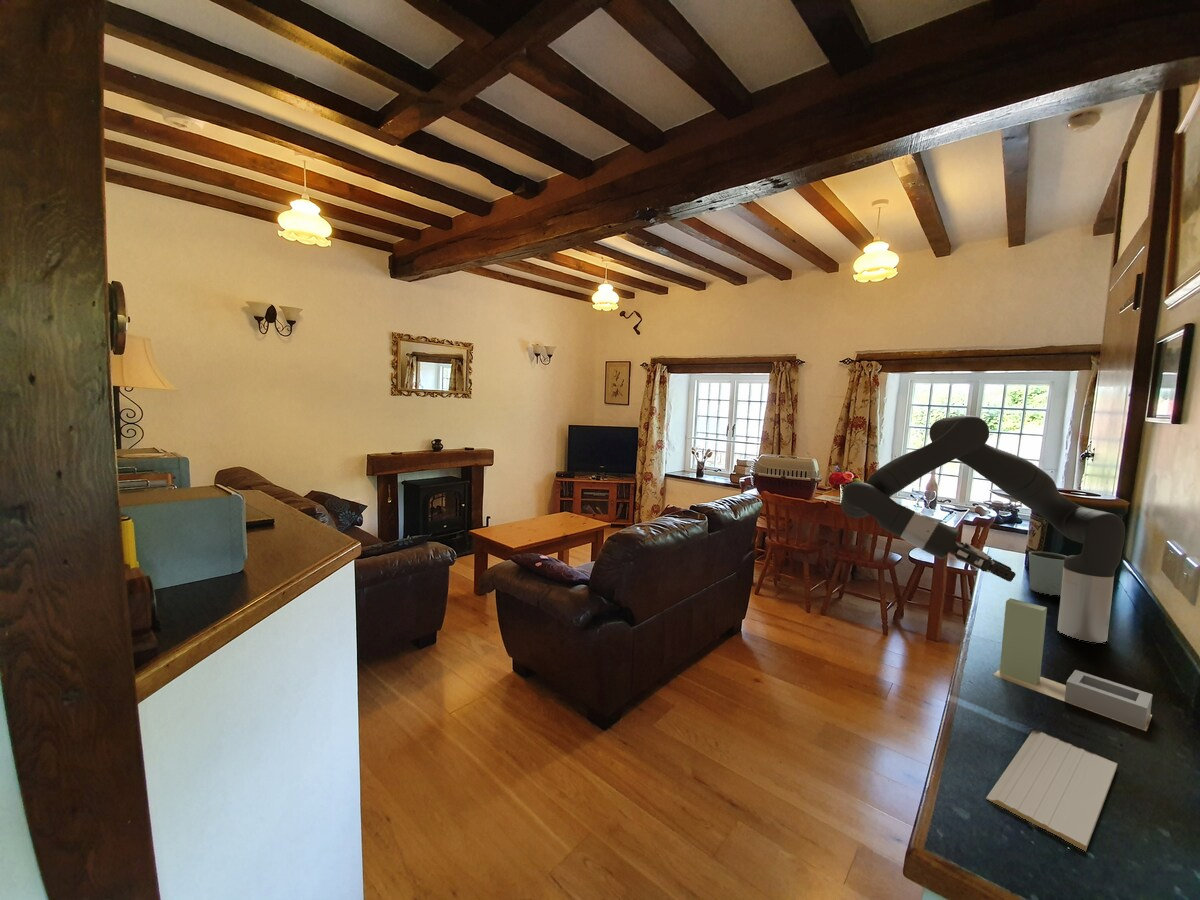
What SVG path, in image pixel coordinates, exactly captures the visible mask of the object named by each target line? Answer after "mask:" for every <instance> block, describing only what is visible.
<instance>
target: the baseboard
mask: <svg viewBox="0 0 1200 900" xmlns="http://www.w3.org/2000/svg"><path fill="white" fill-rule="evenodd" d="M1040 715H1041V716H1045V717H1046V718H1049V719H1053V720H1055V721H1058V722H1061V723H1063V724H1066V725H1069V726H1071V727H1073V728H1076V729H1078V730H1081V731H1084V732H1086V733H1089V734H1092V735H1094V736H1097V737H1099V738H1101V739H1104V740H1107V741H1109V742H1112V743H1115V744H1117V745H1119V746H1120V747H1124V745H1123V743H1117V742H1115V741H1113V740H1110V739H1107V738H1105V737H1102V736H1099V735H1097V734H1095V733H1092V732H1089V731H1087V727H1084V726H1082V725H1080V724H1079V725H1078V724H1075V723H1073V722H1071V721H1070V722H1069V723H1066V722H1063V721H1060V720H1058V719H1056V718H1053V717H1050V716H1048V715H1045V714H1043V712H1042V713H1041V712H1040ZM1035 716H1036V717H1039V715H1037V714H1035ZM1118 766H1119V763H1118V762H1116V761H1113V760H1111V759H1109V758H1106V757H1104V756H1102V755H1099V754H1097V753H1094V752H1092V751H1090V750H1087V749H1085V748H1082V747H1080V746H1078V745H1075V744H1072V743H1071V742H1067V741H1065V740H1063V739H1061V738H1058V737H1055V736H1053V735H1051V734H1048V733H1046V732H1044V731H1040V730H1038V729H1036V728H1033V730H1032V731H1031V733H1030V734H1029V735H1028V737H1027V738H1026V740H1025V741H1024V743H1023V744H1022V745H1021V747H1020V748H1019V750H1018V751H1017V752H1016V754H1015V756H1014V757H1013V759H1012V760H1011V761H1010V763H1009V764H1008V765H1007V767H1006V769H1005V770H1004V771H1003V773H1002V774H1001V776H1000V777H999V779H997V781H996V783H995V785H994V786H993V788H992V789H991V790H990V792H989V793H988V794H987V796H986V797H985V800H986V799H987V800H989V801H991V802H993V803H995V804H997V805H999V806H1001V807H1003V808H1006V809H1007V810H1009V811H1010V812H1012V813H1014V814H1016V815H1018V816H1020V817H1021V818H1023V819H1026V820H1027V821H1029V822H1032V823H1033V824H1035V825H1037V826H1039V827H1041V828H1043V829H1046V830H1047V831H1049V832H1051V833H1053V834H1055V835H1057V836H1059V837H1061V838H1062V839H1064V840H1065V841H1067V842H1069V843H1071V844H1073V845H1074V846H1076V847H1078V848H1080V849H1082V850H1084V851H1085V853H1086V852H1087V849H1088V846H1089V843H1090V841H1091V838H1092V835H1093V833H1094V831H1095V828H1096V825H1097V822H1098V819H1099V817H1100V814H1101V811H1102V810H1103V806H1104V803H1105V802H1106V801H1105V800H1106V798H1107V796H1108V793H1109V790H1110V787H1111V785H1112V782H1113V780H1114V777H1115V773H1116V772H1117V768H1118ZM987 800H986V801H987ZM989 801H988V802H989ZM991 802H990V803H991ZM993 803H992V804H993ZM995 804H994V805H995ZM997 805H996V806H997ZM999 806H998V807H999ZM1001 807H1000V808H1001ZM1003 808H1002V809H1003ZM1010 812H1009V813H1010ZM1012 813H1011V814H1012ZM1014 814H1013V815H1014ZM1016 815H1015V816H1016ZM1018 816H1017V817H1018ZM1020 817H1019V818H1020ZM1021 818H1020V819H1021ZM1023 819H1022V820H1023ZM1027 821H1026V822H1027ZM1029 822H1028V823H1029ZM1033 824H1032V825H1033ZM1035 825H1034V826H1035ZM1037 826H1036V827H1037ZM1065 841H1064V842H1065ZM1067 842H1066V843H1067ZM1069 843H1068V844H1069ZM1071 844H1070V845H1071ZM1074 846H1073V847H1074ZM1076 847H1075V848H1076ZM1078 848H1077V849H1078ZM1080 849H1079V850H1080ZM1082 850H1081V851H1082ZM1084 851H1083V852H1084Z"/></svg>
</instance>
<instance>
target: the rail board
mask: <svg viewBox="0 0 1200 900" xmlns="http://www.w3.org/2000/svg"><path fill="white" fill-rule="evenodd" d="M992 676H994V677H996V678H999V679H1002V680H1005V681H1007V682H1011V683H1013V684H1016V685H1018V686H1021V687H1024V688H1027V689H1029V690H1032V691H1034V692H1038V693H1040V694H1043V695H1046V696H1049V697H1051V698H1054V699H1056V700H1059V701H1063V702H1065V703H1067V704H1070V705H1073V706H1076V707H1079V708H1081V709H1085V710H1087V711H1090V712H1092V713H1095V714H1098V715H1101V716H1103V717H1106V718H1109V719H1112V720H1113V721H1117V722H1120V723H1123V724H1125V725H1128V726H1131V727H1134V728H1136V729H1139V730H1142V731H1145V732H1147V731H1148V728H1149V725H1150V722H1151V719H1152V717H1153V714H1151V713H1150V717H1149V719H1148V722H1147V724H1146V727H1145V730H1144V729H1141V728H1138V727H1136V726H1133V725H1130V724H1127V723H1125V722H1122V721H1119V720H1116V719H1114V718H1111V717H1108V716H1105V715H1103V714H1100V713H1097V712H1094V711H1092V710H1089V709H1086V708H1083V707H1081V706H1078V705H1075V704H1072V703H1070V702H1067V701H1065V692H1066V684H1063V683H1060V682H1058V681H1055V680H1053V679H1048V678H1045V677H1043V676H1040V681H1039V683H1038V684H1037V685H1036V686H1035V685H1033V684H1030V683H1027V682H1024V681H1021V680H1019V679H1016V678H1013V677H1010V676H1007V675H1005V674H1002V673H1000V668H999V669H998V670H997V671H996V672H994V673H993V675H992Z"/></svg>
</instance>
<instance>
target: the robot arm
mask: <svg viewBox="0 0 1200 900" xmlns="http://www.w3.org/2000/svg"><path fill="white" fill-rule="evenodd" d="M989 428H990V427H989V425H988V424H987V422H986V421H985V420H983V418H981V417H979V416H976V415H969V414H968V415H958V416H957V415H955V416H949V417H948V416H947V417H944V418H941V419H937V420H936V421H935V422H933V424H931V426H930V427H929V431H928V433H929V439H930V441H931V442H930V443H928V444H927V445H924V446H921V447H920V448H917V449H914V450H913V451H910V452H907V453H905V454H903V455H901V456H897V458H893V460H890V461H889V462H888V463H886V464H884V465H882V466H881V467H879V468H878V469H877V470H875V471H874V472H873V473H872V474H871V475H870V476H869V477H868V480H867V481H866V482H863V481H853V482H849V483H848V484H847V485H846V486H845V487H844V489H843V492H842V496H841V501H840V508H841V510H842V512H843V513H844V514H845V515H846V516H847V517H850V518H851V519H861V518H866V517H867V516H869V515H870V516H872V517H873V518H875V519H876V521H877V524H878V525H879V527H880V528H882V529H883V530H885V531H887V532H889V533H891V534H893V535H894V536H897V537H899V538H901V539H903V540H904V541H906V542H907V543H908V544H910V545H912V546H914V547H916V548H918V549H920V550H922V551H924V552H926V553H928V554H930V555H932V556H934V557H935V558H937V559H940V560H943V559H945V558H946V556H947V555H948V554H949V553H952V554H954V555H953V556H954V557H955V558H956V559H957V560H958V561H960V562H962V563H966V564H967V565H969V566H971V567H972V568H975V569H979V570H981V571H982V572H986V573H991V574H992V575H994V576H996V577H998V578H1000V579H1002V580H1005V581H1006V582H1009V583H1010V582H1012V581H1013V580H1014V578H1015V577H1016V572H1015V571H1013V570H1012V568H1011V567H1010V566H1008V565H1006V564H1004V563H1003V562H1000V561H998V560H996V559H994V558H992V556H991V555H988V554H987V553H985V552H984V551H982V550H980V549H979V548H976V547H975V546H973V545H972V544H970V543H967V542H965V543H964V542H961V541H957V539H958V537H959V536H960V531H959V530H958V529H956V528H954V527H951V526H949V525H947V524H945V523H943V522H941V521H939V520H937V519H935V518H933V517H931V516H928V515H925V514H922V513H920V512H917V511H915V510H913V509H910V508H908V507H906V506H904V505H902V504H899V503H898V502H896V501H895V500H893V499H892V498H891V497H892V496H894V495H896V494H897V493H899V492H900V491H901V490H904V489H905V488H906V487H908V486H910V485H911V484H912V483H914V482H916V481H918V480H919V479H920V478H922V477H924V476H926V475H928V474H929V473H931V472H932V471H934V470H936V469H938V468H940V467H942V466H944V465H946V464H948V463H950V462H953V461H954V460H958V461H959V462H961V463H962V464H964V465H967V466H968V467H970V469H972V470H974V471H975V472H976V473H978V474H979V475H980V476H981V477H982V478H984V479H986V480H988V482H991V484H994V485H995V486H996V487H998V489H1000V490H1002V491H1003V492H1004V493H1006V494H1007V495H1009V496H1010V497H1011V498H1013V499H1015V500H1016V501H1018V502H1019V503H1020V504H1022V505H1024V506H1025V507H1026V508H1028V509H1030V510H1032V511H1033V512H1035V513H1036V514H1037V515H1040V516H1041V518H1044V519H1045V520H1046V521H1047V523H1050V525H1052V527H1053V528H1055V530H1057V531H1058V532H1059V533H1061V535H1063V536H1064V537H1065V538H1067V539H1069V540H1071V541H1074V542H1077V543H1079V544H1082V549H1081V553H1080V554H1076V555H1074V554H1071V555H1068V556H1067V555H1066V556H1067V557H1066V558H1065V559H1064V567H1063V577H1062V588H1061V596H1060V600H1059V609H1058V619H1057V632H1058V631H1059V632H1058V633H1059V634H1061V633H1063V634H1065V635H1067V636H1066V637H1068V636H1070V637H1072V638H1071V639H1073V638H1076V639H1079V640H1078V641H1080V640H1084V641H1089V642H1096V643H1103V642H1106V641H1107V642H1108V634H1109V627H1110V621H1111V620H1110V618H1111V610H1112V609H1111V607H1112V601H1113V600H1112V599H1113V590H1114V579H1115V572H1116V570H1117V568H1118V567H1119V565H1120V563H1121V560H1122V555H1123V548H1124V544H1125V538H1126V526H1125V522H1124V521H1123V519H1122V518H1121V517H1120V516H1118V515H1117V514H1115V513H1111V512H1107V511H1104V510H1098V509H1093V508H1088V507H1086V506H1083V505H1080V504H1077V503H1076V502H1074V501H1072V500H1071V499H1069V498H1067V497H1066V496H1064V495H1063V494H1062V493H1060V492H1059V490H1058V487H1057V485H1056V483H1055V481H1054V480H1053V478H1052V477H1051V475H1049V474H1048V473H1047V472H1045V470H1043V469H1041V468H1040V467H1039V466H1037V465H1036V464H1034V463H1033V462H1031V461H1030V460H1027V459H1025V458H1024V457H1021V456H1018V455H1016V454H1013V453H1011V452H1008V451H1005V450H1002V449H1000V448H997V447H993V446H991V445H989V444H987V442H988V439H989V437H990V429H989ZM1063 634H1062V635H1063ZM1065 635H1064V636H1065ZM1070 637H1069V638H1070ZM1076 639H1075V640H1076ZM1084 641H1083V642H1084ZM1089 642H1088V643H1089ZM1096 643H1095V644H1096ZM1103 644H1104V643H1103Z"/></svg>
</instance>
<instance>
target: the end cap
mask: <svg viewBox="0 0 1200 900" xmlns="http://www.w3.org/2000/svg"><path fill="white" fill-rule="evenodd" d="M1065 685H1066V692H1065V701H1067V702H1070V703H1072V704H1071V705H1073V704H1075V705H1074V706H1076V705H1078V706H1081V707H1083V708H1082V709H1084V708H1086V709H1085V710H1087V709H1089V710H1092V711H1094V712H1093V713H1095V712H1097V713H1096V714H1098V713H1100V714H1103V715H1105V716H1104V717H1106V716H1108V717H1107V718H1109V717H1111V718H1114V719H1116V720H1115V721H1117V720H1119V721H1118V722H1120V721H1122V722H1125V723H1127V724H1126V725H1128V724H1130V725H1129V726H1131V725H1133V726H1136V727H1138V728H1137V729H1139V728H1141V729H1140V730H1142V729H1144V730H1145V727H1146V724H1147V722H1148V719H1149V717H1150V714H1151V710H1152V703H1153V696H1154V695H1153V694H1152V693H1149V692H1146V691H1142V690H1140V689H1136V688H1133V687H1131V686H1128V685H1124V684H1121V683H1118V682H1115V681H1112V680H1109V679H1105V678H1102V677H1099V676H1097V675H1093V674H1090V673H1087V672H1084V671H1080V670H1078V669H1075V670H1074V671H1073V672H1072V674H1070V676H1069V677H1068V679H1067V680H1066V684H1065ZM1065 701H1064V702H1065ZM1067 702H1066V703H1067ZM1070 703H1069V704H1070ZM1078 706H1077V707H1078ZM1081 707H1080V708H1081ZM1089 710H1088V711H1089ZM1092 711H1091V712H1092ZM1100 714H1099V715H1100ZM1103 715H1102V716H1103ZM1111 718H1110V719H1111ZM1114 719H1113V720H1114ZM1122 722H1121V723H1122ZM1125 723H1124V724H1125ZM1133 726H1132V727H1133ZM1136 727H1135V728H1136ZM1144 730H1143V731H1144Z"/></svg>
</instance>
